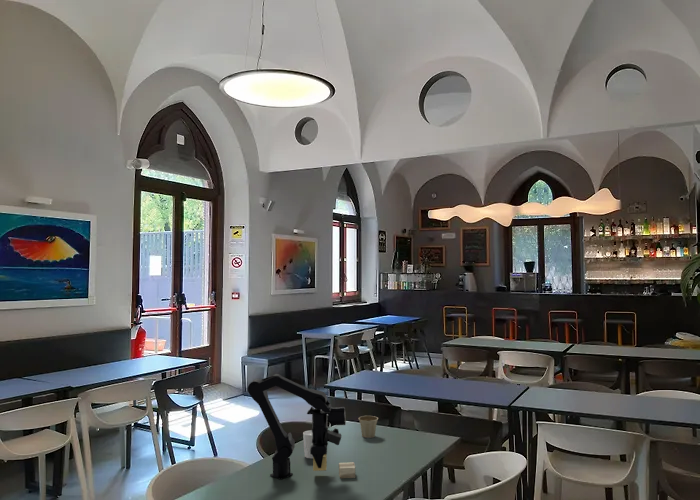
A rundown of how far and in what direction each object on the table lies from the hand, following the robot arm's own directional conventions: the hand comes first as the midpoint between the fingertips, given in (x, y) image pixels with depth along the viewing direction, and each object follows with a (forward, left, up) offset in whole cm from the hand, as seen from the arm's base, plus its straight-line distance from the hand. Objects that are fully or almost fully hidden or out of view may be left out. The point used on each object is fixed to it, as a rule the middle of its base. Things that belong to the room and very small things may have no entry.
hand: (319, 465), depth 216 cm
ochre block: (0, 0, -1) cm, 1 cm away
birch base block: (+7, -8, -4) cm, 11 cm away
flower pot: (+52, +16, -4) cm, 54 cm away
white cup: (+15, +18, -4) cm, 24 cm away
